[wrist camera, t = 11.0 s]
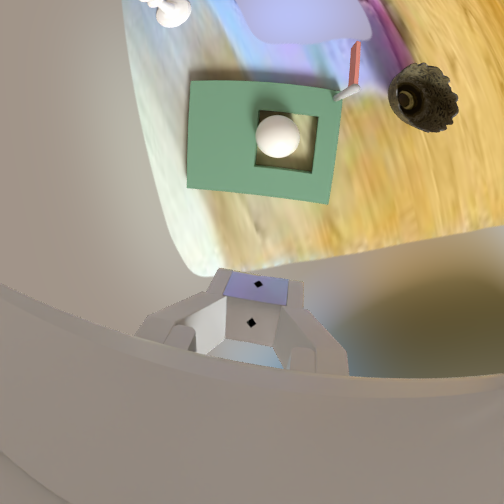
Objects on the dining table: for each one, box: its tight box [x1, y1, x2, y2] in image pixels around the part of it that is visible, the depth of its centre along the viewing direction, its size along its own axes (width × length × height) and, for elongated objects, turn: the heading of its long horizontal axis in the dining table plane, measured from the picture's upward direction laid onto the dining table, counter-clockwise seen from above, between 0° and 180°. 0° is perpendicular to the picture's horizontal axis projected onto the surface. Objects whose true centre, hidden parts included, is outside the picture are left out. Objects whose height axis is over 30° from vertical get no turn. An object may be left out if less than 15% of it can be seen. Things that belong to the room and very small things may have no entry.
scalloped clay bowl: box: [388, 63, 459, 133], centre depth 24 cm, size 8×7×8 cm
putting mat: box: [187, 41, 361, 204], centre depth 26 cm, size 17×18×14 cm
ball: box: [256, 115, 300, 158], centre depth 30 cm, size 5×5×5 cm
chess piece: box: [140, 0, 191, 27], centre depth 21 cm, size 5×5×10 cm
